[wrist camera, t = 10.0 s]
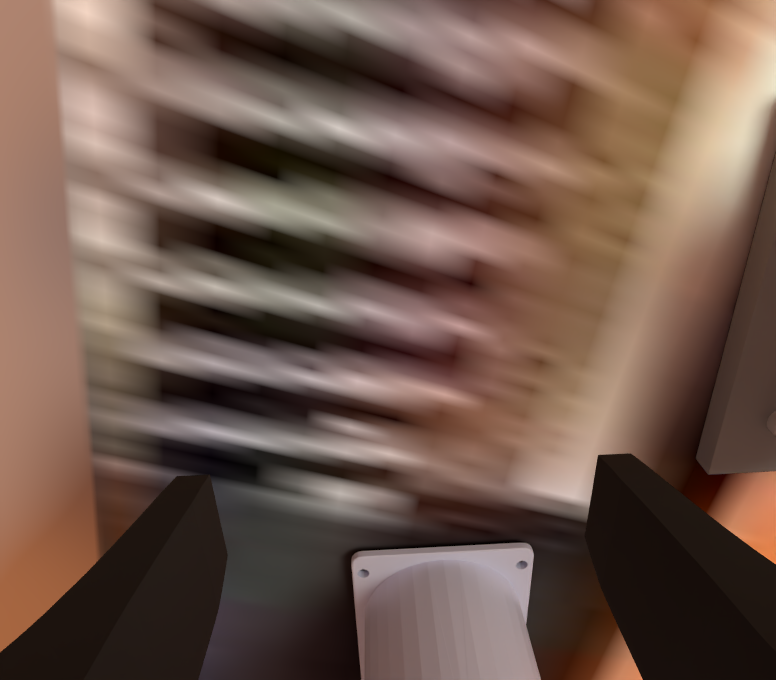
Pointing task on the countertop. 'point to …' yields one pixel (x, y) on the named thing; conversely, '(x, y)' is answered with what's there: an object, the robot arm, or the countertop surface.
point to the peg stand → (748, 364)
